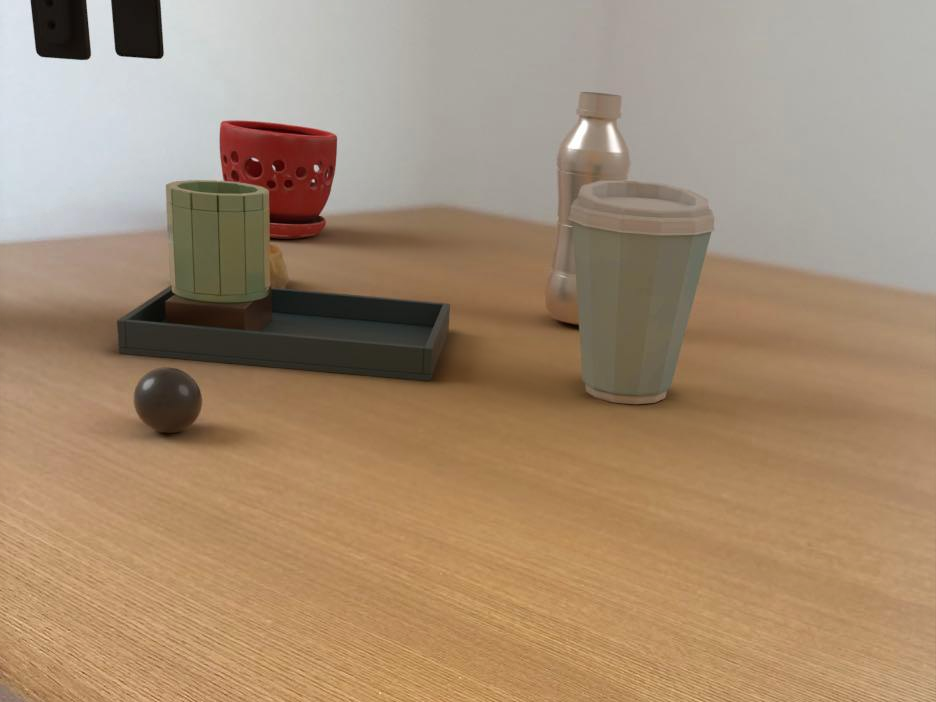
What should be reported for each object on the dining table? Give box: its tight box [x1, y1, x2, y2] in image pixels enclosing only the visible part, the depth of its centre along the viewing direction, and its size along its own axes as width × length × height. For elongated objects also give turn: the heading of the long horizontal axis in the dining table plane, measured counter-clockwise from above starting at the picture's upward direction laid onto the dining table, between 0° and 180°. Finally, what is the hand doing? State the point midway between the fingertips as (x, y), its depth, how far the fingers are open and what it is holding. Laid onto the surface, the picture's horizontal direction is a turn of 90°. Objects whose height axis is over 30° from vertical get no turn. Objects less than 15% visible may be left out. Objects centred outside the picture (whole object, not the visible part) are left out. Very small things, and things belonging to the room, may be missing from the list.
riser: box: [165, 284, 272, 331], centre depth 90 cm, size 6×9×3 cm, turn 179°
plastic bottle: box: [544, 91, 631, 327], centre depth 101 cm, size 6×7×20 cm
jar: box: [165, 179, 271, 303], centre depth 88 cm, size 7×7×8 cm
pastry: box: [270, 244, 289, 289], centre depth 106 cm, size 9×7×4 cm
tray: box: [116, 284, 451, 382], centre depth 90 cm, size 23×15×2 cm, turn 89°
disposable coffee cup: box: [568, 180, 716, 405], centre depth 83 cm, size 11×11×15 cm
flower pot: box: [218, 119, 338, 240], centre depth 131 cm, size 13×13×12 cm
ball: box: [133, 366, 203, 434], centre depth 69 cm, size 4×4×4 cm
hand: (104, 57), depth 72 cm, fingers open, 9 cm apart
